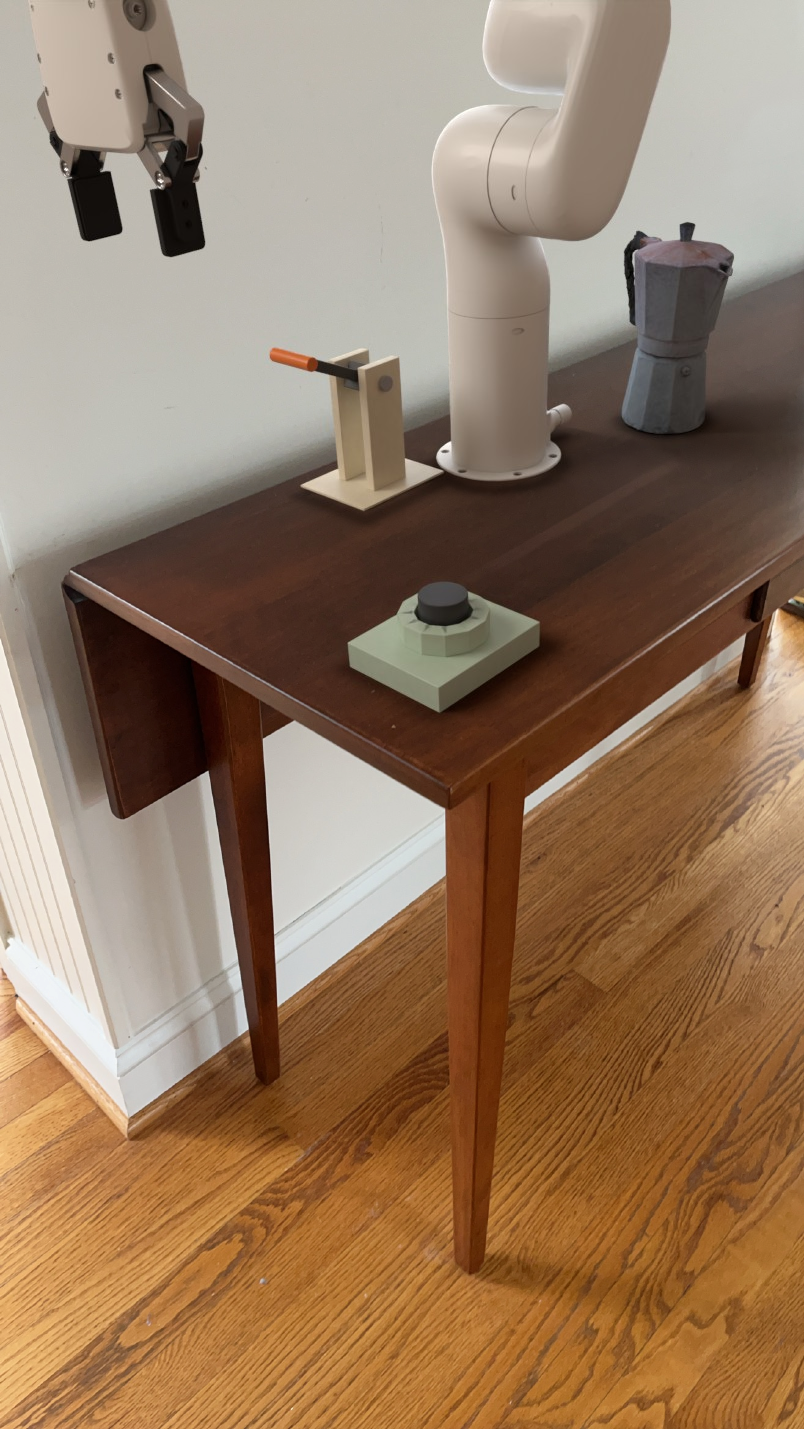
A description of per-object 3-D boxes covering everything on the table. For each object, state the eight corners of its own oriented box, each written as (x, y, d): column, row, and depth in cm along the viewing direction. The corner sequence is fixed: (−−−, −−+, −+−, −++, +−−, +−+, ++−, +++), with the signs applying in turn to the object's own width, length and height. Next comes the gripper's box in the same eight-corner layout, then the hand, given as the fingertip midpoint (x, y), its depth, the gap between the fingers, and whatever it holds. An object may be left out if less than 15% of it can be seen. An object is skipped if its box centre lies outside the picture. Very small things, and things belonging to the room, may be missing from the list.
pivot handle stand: (365, 520, 95) (353, 384, 88) (301, 496, 101) (285, 365, 93) (444, 482, 101) (440, 351, 94) (380, 460, 107) (371, 335, 99)
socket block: (450, 608, 82) (448, 563, 79) (539, 647, 76) (540, 600, 74) (349, 667, 75) (345, 621, 73) (439, 714, 70) (437, 665, 68)
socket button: (442, 597, 76) (441, 576, 75) (478, 612, 74) (478, 591, 73) (408, 616, 74) (407, 595, 73) (445, 633, 72) (444, 611, 71)
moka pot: (679, 451, 104) (701, 240, 93) (578, 411, 115) (587, 217, 103) (743, 428, 108) (773, 222, 97) (640, 391, 119) (656, 203, 107)
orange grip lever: (304, 378, 86) (310, 348, 86) (266, 367, 89) (272, 338, 88) (390, 398, 95) (397, 372, 94) (353, 388, 97) (359, 362, 97)
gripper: (219, -83, 57) (264, 246, 67) (57, -62, 67) (117, 222, 77) (105, -77, 53) (171, 273, 63) (-50, -56, 63) (29, 243, 73)
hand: (142, 244), depth 70 cm, fingers open, 9 cm apart
